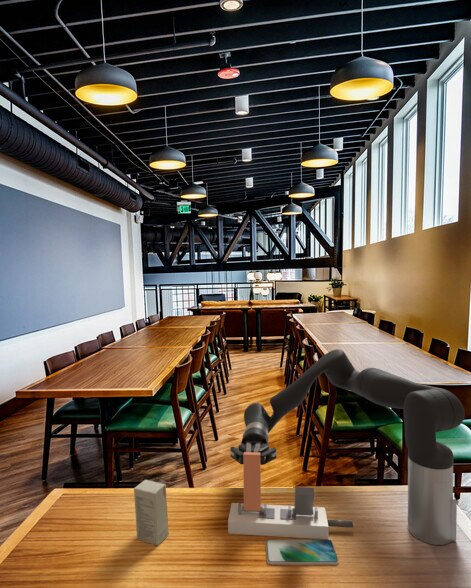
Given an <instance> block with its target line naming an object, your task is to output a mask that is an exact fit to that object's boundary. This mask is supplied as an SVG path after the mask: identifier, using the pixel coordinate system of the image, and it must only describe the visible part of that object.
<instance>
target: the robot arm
mask: <svg viewBox="0 0 471 588" xmlns="http://www.w3.org/2000/svg"><path fill="white" fill-rule="evenodd" d="M323 373H324V374H325V376H326V378H327V379H328V381H329V382H330V383H331V384H332V385H333V386H335V387H337V388H339V389H340V388H341V389H343V390H347V391H350V392H352V393H354V394H356V395H358V396H361V397H363V398H364V399H366V400H367V401H370V402H372V403H374V404H376V405H379V406H382V407H386V408H387V407H388V408H393V409H401V410H403V425H404V426H403V427H404V440H405V445H406V447H407V528H408V531H409V533H410V534H411V535H413V537H415V538H416V539H418V540H420V541H421V542H424V543H426V544H430V545H434V546H443V545H444V546H445V545H447V544H449V543H451V542H457V515H458V514H457V510H458V507H457V505H458V503H457V498H456V497H455V496H454V453H453V451H452V449H451V448H450V447H449V446H447V444H445V443H441V441H440V442H439V441H437V433H439V432H440V433H441V432H446V431H450V430H453V429H456V428H458V427H459V426H461V424H462V423H463V422H464V420H465V416H466V415H465V414H466V413H465V412H466V411H465V408H464V405H463V404H462V402H461V401H460V399H459V398H458V396H456V395H455V394H454V393H452V392H451V391H449V390H447V389H445V388H440V387H436V386H431V385H426V384H421V383H418V382H414V381H411V380H409V379H408V378H407V379H406V378H404V377H401V376H399V375H395V374H393V373H390V372H388V371H385V370H382V369H380V368H375V367H366V368H364V369H362V370H361V371H360V372H359V371H358V370H357V369H356V368H355V367H354V365H353V364H352V362H351V361H350V359H349V358H348V356H347V354H346V353H345V352H344V350H342V349H338V348H337V349H333V350H330V351H329V352H327V353H325V354H323V355H322V356H321V357H320V358H319V359H318V360H317V361H316V362H315V363H313V364H312V365H311V366H309V368H308V369H307V370H305V372H303V373H302V374H301V375H300V376H299V377H298V378H297V379H295V381H293V382H292V383H291V384H289V385H288V386H287V387H285V388H283V389H282V390H281V391H279V392H278V393H276V394H275V395H274V396H272V397H271V398H269V404H270V406H271V408H272V414H271V416H270V415H269V414H268V412H267V411H266V409H265V407H264V406H263V405H262V404H261V403H258V402H253V403H251V404H249V405H248V406H247V407H246V408H245V410H244V413H243V420H244V424H245V429H244V431H243V433H242V439H241V442H240V444H239V445H238V447H235V446H230V458H232V459H233V460H234V461H236V462H237V463H238V464H240V465H244V460H243V454H244V452H255V453H260V466H264V465H266V464H268V463H270V462H272V461H273V460H276V459H277V448H276V447H272V448H270V445H269V438H270V437H269V436H270V435H269V433H270V432H271V431H272V430H273V428H274V427H275V426H276V425H277V424H278V423H279V421H280V420H281V419H282V418H283V417H285V416H286V415H287V414H289V413H290V412H292V411H293V410H295V409H296V408H298V407H299V406H300V405H301V404H302V403H304V401H305V399H306V397H307V395H308V394H309V391H310V389H311V387H312V385H313V383H314V382H315V380H316V379H317V378H319V376H320V375H321V374H322V375H323Z"/></svg>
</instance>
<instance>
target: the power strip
mask: <svg viewBox="0 0 471 588" xmlns="http://www.w3.org/2000/svg"><path fill="white" fill-rule="evenodd" d="M242 506H244V503H242V502H237V503H236V502H231V505H230V510H229V515H228V520H227V533H228V535H229V534H233V535H244V536H245V535H249V536H264V537H265V536H267V537H283V538H285V537H286V538H296V539H297V538H299V539H329V540H330V538H329V537H330V536H329V535H330V534H329V532H330V531H329V527H331V528H332V527H333V528H336V527H337V528H349V529H351V528H354V521H353V520H347V519H346V520H344V519H343V520H342V519H328V517H327V511H326V508H325V507H322V506H321V507H320V506H313V515H312V516H309V515H295V514H293V508H294V505H289V504H288V505H283V504H282V505H278V504H267V503H264V504H262V503H261V507H263V511H262V512H247V511H242Z"/></svg>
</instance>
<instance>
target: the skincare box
mask: <svg viewBox="0 0 471 588" xmlns="http://www.w3.org/2000/svg"><path fill="white" fill-rule="evenodd" d="M133 495H134V497H133V498H134V509H135V510H134V511H135V526H136V539H137V540H140V541H142V542H145V543H148V544H152V545H154V546H160V545H161V543H162V542H163V541H164V540H165V539H166V537H168V535H169V520H168V519H169V518H168V515H169V514H168V503H167V501H168V500H167V499H168V498H167V484H166V483H162V482H158V481H153V480H149V479H144V480H143V481H142V482H140V483H139V484H138V485H136V486H134V488H133Z"/></svg>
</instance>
